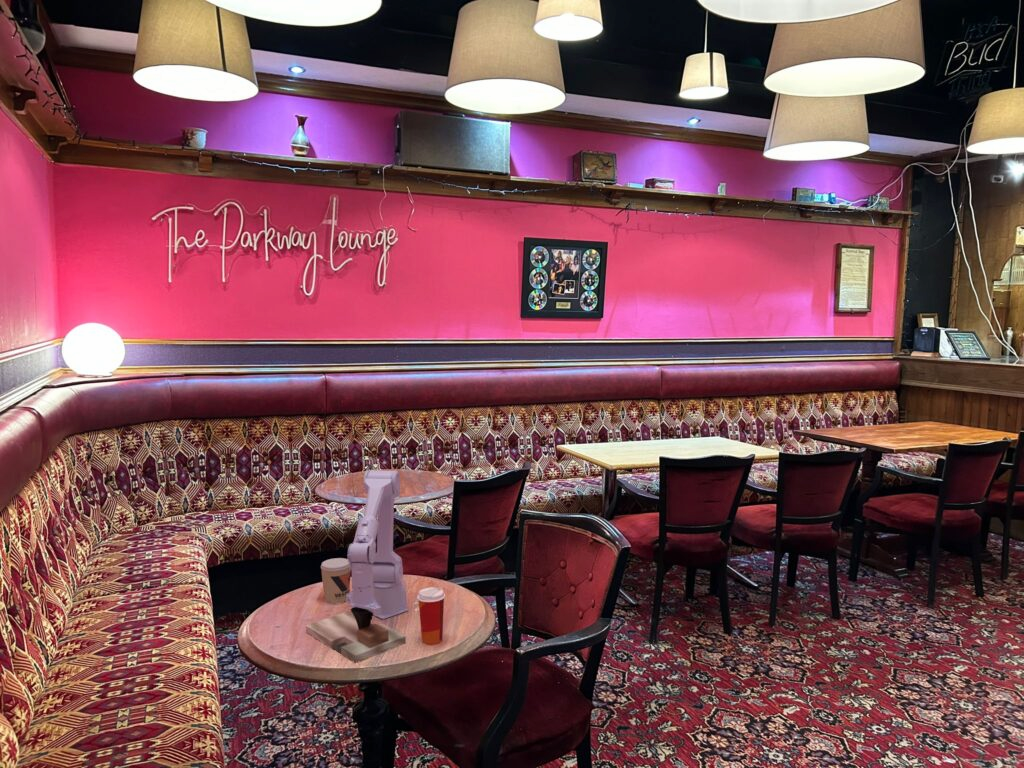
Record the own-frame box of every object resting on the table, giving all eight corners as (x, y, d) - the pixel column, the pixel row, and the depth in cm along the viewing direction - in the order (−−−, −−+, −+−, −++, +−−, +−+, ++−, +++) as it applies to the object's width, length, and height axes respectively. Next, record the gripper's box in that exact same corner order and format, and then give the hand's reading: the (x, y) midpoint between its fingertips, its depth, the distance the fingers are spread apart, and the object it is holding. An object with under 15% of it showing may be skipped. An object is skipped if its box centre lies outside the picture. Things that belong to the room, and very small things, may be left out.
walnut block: (376, 633, 201) (375, 623, 201) (388, 640, 197) (388, 630, 196) (357, 640, 197) (357, 630, 196) (369, 648, 192) (369, 637, 192)
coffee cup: (334, 607, 224) (333, 569, 223) (315, 600, 230) (314, 563, 229) (358, 597, 232) (357, 561, 231) (339, 591, 237) (337, 555, 236)
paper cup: (432, 632, 206) (431, 584, 205) (451, 639, 201) (450, 590, 200) (412, 641, 200) (410, 593, 199) (431, 649, 195) (430, 599, 194)
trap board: (354, 615, 218) (354, 609, 218) (405, 643, 200) (405, 636, 199) (306, 632, 207) (305, 625, 207) (355, 663, 188) (355, 655, 188)
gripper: (335, 581, 201) (337, 629, 202) (364, 596, 190) (366, 645, 192) (357, 575, 205) (359, 621, 207) (387, 588, 195) (388, 637, 196)
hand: (364, 632), depth 200 cm, fingers closed
